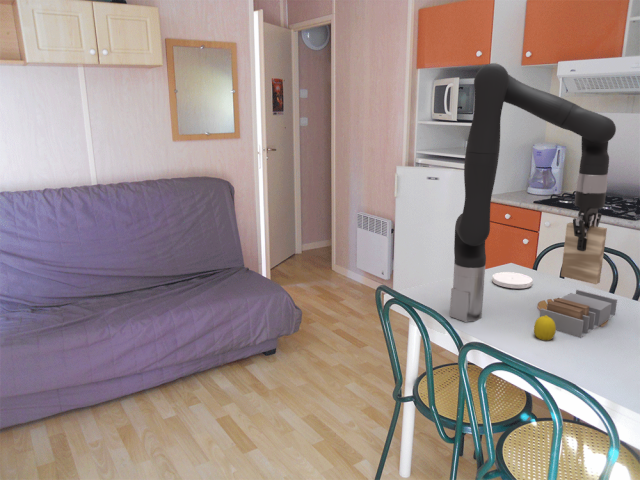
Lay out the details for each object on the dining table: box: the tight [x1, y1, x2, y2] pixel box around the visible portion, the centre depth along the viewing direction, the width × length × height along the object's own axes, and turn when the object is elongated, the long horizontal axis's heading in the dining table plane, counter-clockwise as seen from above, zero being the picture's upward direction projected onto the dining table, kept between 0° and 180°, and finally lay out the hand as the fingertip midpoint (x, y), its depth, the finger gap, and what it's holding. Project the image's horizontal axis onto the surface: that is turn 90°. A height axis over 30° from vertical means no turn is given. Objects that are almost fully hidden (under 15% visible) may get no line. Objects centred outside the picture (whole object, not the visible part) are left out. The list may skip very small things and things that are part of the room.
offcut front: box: [546, 300, 583, 320], centre depth 148 cm, size 2×9×7 cm, turn 41°
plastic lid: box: [491, 271, 534, 289], centre depth 190 cm, size 14×14×2 cm
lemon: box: [533, 315, 557, 341], centre depth 143 cm, size 6×6×8 cm
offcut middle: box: [553, 297, 589, 316], centre depth 150 cm, size 2×9×7 cm, turn 41°
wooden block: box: [560, 222, 608, 285], centre depth 148 cm, size 2×10×16 cm, turn 41°
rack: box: [539, 289, 618, 339], centre depth 154 cm, size 24×12×6 cm, turn 131°
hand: (583, 249), depth 148 cm, fingers closed on wooden block, 2 cm apart
